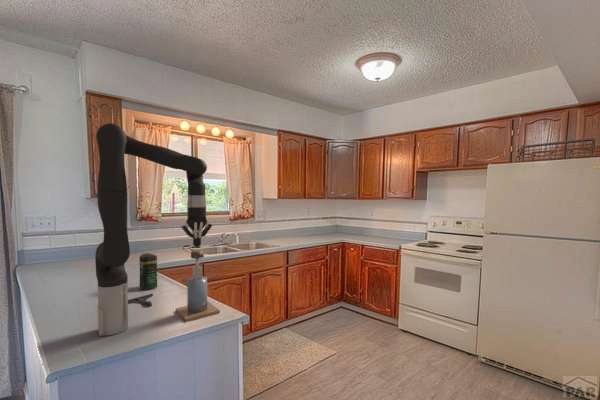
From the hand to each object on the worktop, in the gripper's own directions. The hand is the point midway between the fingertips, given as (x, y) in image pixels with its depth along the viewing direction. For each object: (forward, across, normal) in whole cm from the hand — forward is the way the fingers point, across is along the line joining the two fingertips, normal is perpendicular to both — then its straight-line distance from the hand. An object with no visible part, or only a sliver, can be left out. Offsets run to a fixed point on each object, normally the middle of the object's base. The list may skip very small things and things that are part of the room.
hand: (197, 246), depth 123 cm
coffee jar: (+28, -9, +50) cm, 58 cm away
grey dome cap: (+9, 0, -2) cm, 10 cm away
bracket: (+29, -16, +27) cm, 43 cm away
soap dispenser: (+28, 0, 0) cm, 28 cm away
